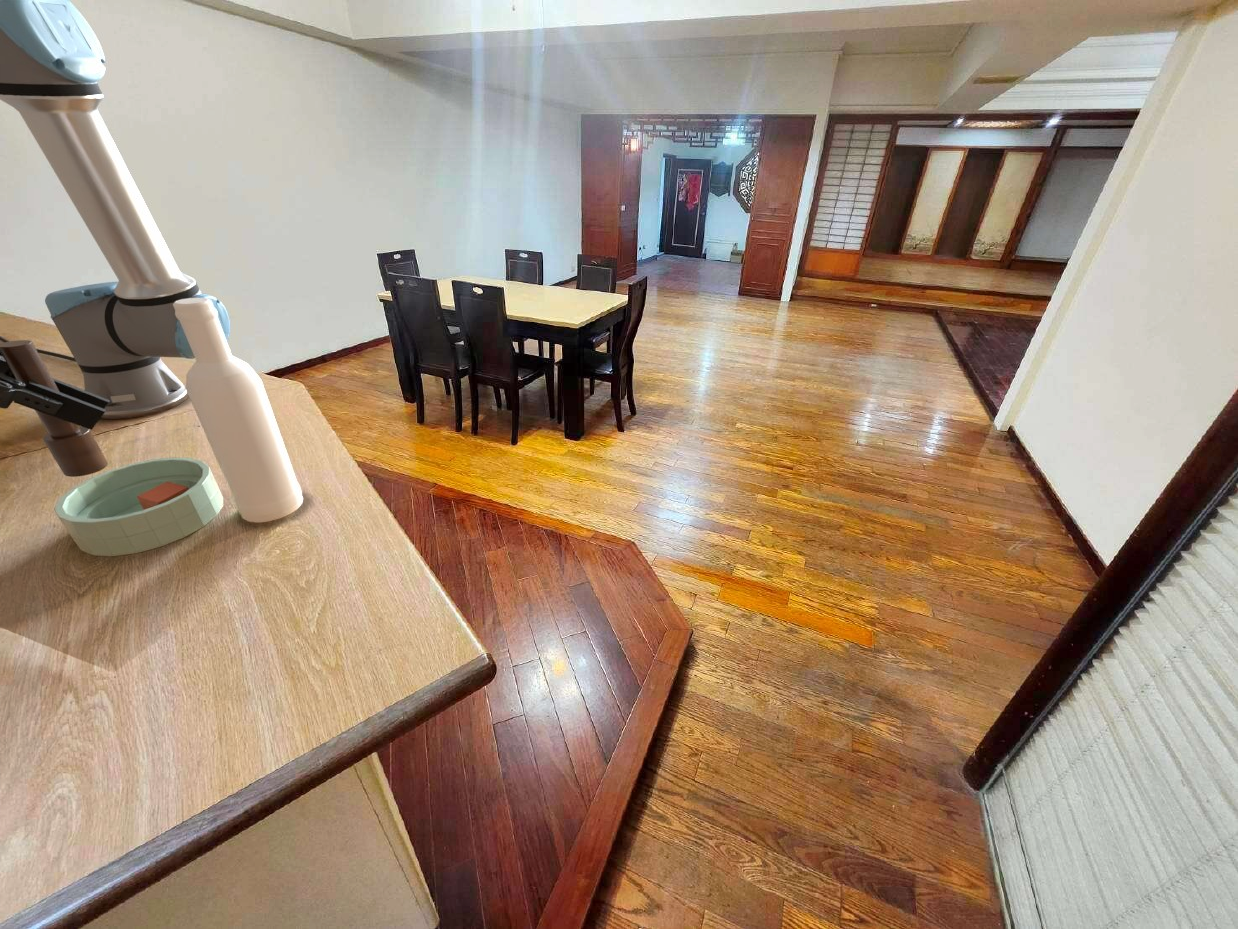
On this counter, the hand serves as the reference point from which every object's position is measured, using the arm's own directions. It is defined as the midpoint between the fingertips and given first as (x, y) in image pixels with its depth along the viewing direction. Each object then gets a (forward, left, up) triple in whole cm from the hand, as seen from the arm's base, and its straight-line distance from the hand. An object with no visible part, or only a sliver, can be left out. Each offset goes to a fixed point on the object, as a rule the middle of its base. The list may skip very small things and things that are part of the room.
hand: (100, 414), depth 60 cm
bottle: (+8, +11, -17) cm, 22 cm away
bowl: (-1, 0, -17) cm, 17 cm away
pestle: (-1, -4, -7) cm, 8 cm away
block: (0, +2, -16) cm, 16 cm away
